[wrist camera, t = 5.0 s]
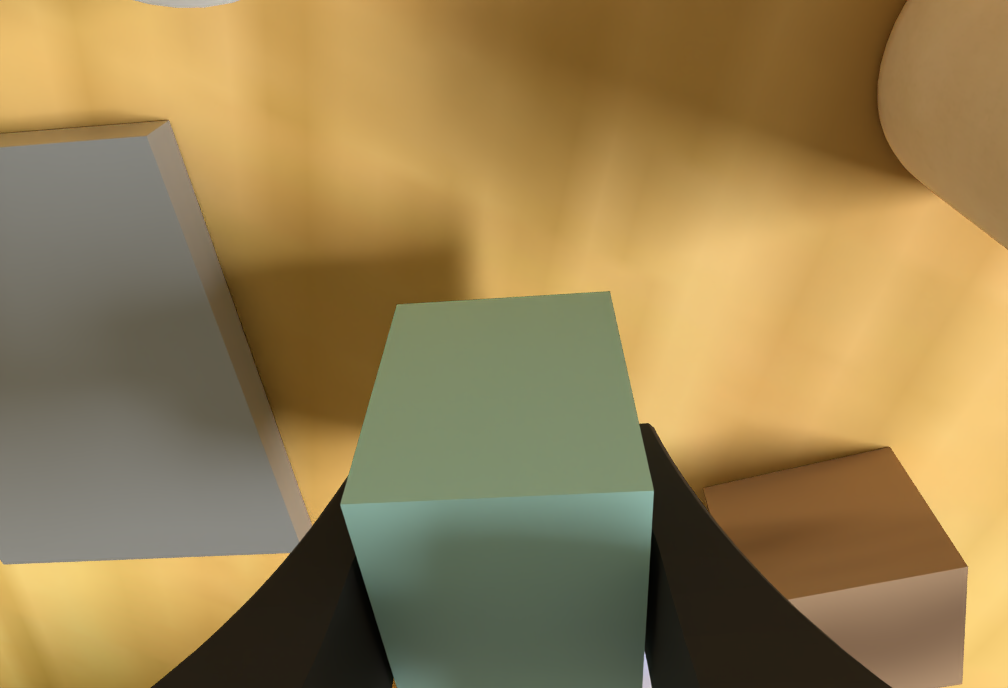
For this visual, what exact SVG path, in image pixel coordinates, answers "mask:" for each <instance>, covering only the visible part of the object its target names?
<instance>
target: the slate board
mask: <svg viewBox="0 0 1008 688" xmlns="http://www.w3.org/2000/svg"><path fill="white" fill-rule="evenodd" d="M311 526H312V524H311V521H310V518H309V515H308V512H307V510H306V507H305V504H304V501H303V498H302V495H301V493H300V490H299V487H298V484H297V481H296V479H295V476H294V473H293V470H292V467H291V464H290V462H289V459H288V456H287V453H286V450H285V447H284V445H283V442H282V439H281V436H280V433H279V430H278V428H277V425H276V422H275V419H274V416H273V413H272V411H271V408H270V405H269V402H268V399H267V396H266V394H265V391H264V388H263V385H262V382H261V379H260V377H259V374H258V371H257V368H256V365H255V362H254V360H253V357H252V354H251V351H250V348H249V345H248V343H247V340H246V337H245V334H244V331H243V329H242V326H241V323H240V320H239V317H238V314H237V312H236V309H235V306H234V303H233V300H232V297H231V295H230V292H229V289H228V286H227V283H226V280H225V278H224V275H223V272H222V269H221V266H220V263H219V261H218V258H217V255H216V252H215V249H214V246H213V244H212V241H211V238H210V235H209V232H208V229H207V227H206V224H205V221H204V218H203V215H202V212H201V210H200V207H199V204H198V201H197V198H196V195H195V193H194V190H193V187H192V184H191V181H190V178H189V176H188V173H187V170H186V167H185V164H184V162H183V159H182V156H181V153H180V150H179V147H178V145H177V142H176V139H175V136H174V133H173V130H172V128H171V125H170V122H169V120H165V121H153V122H140V123H128V124H115V125H102V126H90V127H77V128H65V129H52V130H39V131H27V132H14V133H2V134H0V560H1V561H2V563H3V564H26V563H51V562H76V561H101V560H126V559H151V558H176V557H201V556H226V555H251V554H276V553H291V552H292V551H293V549H294V548H295V547H296V546H297V544H298V543H299V542H300V541H301V539H302V538H303V537H304V536H305V534H306V533H307V532H308V531H309V529H310V528H311Z"/></svg>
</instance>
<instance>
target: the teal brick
mask: <svg viewBox="0 0 1008 688" xmlns="http://www.w3.org/2000/svg"><path fill="white" fill-rule="evenodd" d="M653 498H654V489H653V484H652V480H651V475H650V471H649V466H648V462H647V457H646V453H645V448H644V444H643V439H642V435H641V430H640V426H639V421H638V417H637V412H636V407H635V403H634V398H633V394H632V389H631V385H630V380H629V376H628V371H627V367H626V362H625V358H624V353H623V349H622V344H621V340H620V335H619V331H618V326H617V322H616V317H615V313H614V308H613V303H612V299H611V294H610V291H607V292H590V293H574V294H558V295H542V296H525V297H509V298H493V299H476V300H460V301H444V302H428V303H411V304H397V306H396V310H395V313H394V317H393V320H392V324H391V327H390V331H389V334H388V338H387V341H386V345H385V348H384V352H383V355H382V359H381V362H380V366H379V369H378V373H377V377H376V380H375V384H374V387H373V391H372V394H371V398H370V401H369V405H368V408H367V412H366V415H365V419H364V422H363V426H362V429H361V433H360V437H359V440H358V444H357V447H356V451H355V454H354V458H353V461H352V465H351V468H350V472H349V475H348V479H347V482H346V486H345V489H344V493H343V496H342V500H341V504H340V506H341V509H342V512H343V515H344V519H345V522H346V525H347V528H348V531H349V535H350V538H351V541H352V544H353V548H354V551H355V554H356V557H357V560H358V564H359V567H360V570H361V573H362V577H363V580H364V583H365V586H366V589H367V593H368V596H369V599H370V602H371V606H372V609H373V612H374V615H375V618H376V622H377V625H378V628H379V631H380V635H381V638H382V641H383V644H384V647H385V651H386V654H387V657H388V660H389V664H390V667H391V670H392V673H393V677H394V680H395V683H396V686H397V688H642V684H643V667H644V650H645V633H646V616H647V599H648V582H649V565H650V548H651V532H652V515H653Z"/></svg>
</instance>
